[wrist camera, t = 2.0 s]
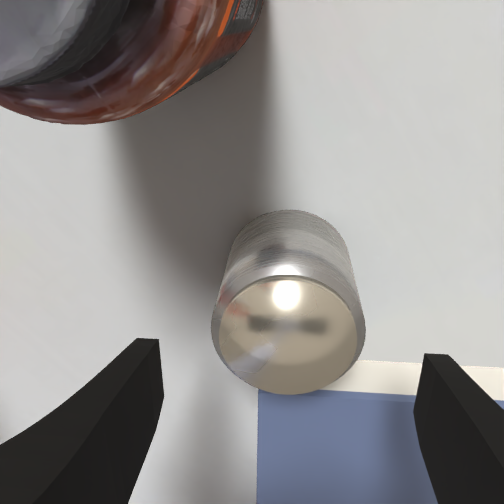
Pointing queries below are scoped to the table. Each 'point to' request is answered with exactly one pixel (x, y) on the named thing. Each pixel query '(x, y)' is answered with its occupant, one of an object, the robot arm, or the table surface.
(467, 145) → the table surface
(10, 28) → the supplement bottle
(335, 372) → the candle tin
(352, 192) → the table surface
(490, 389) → the book
